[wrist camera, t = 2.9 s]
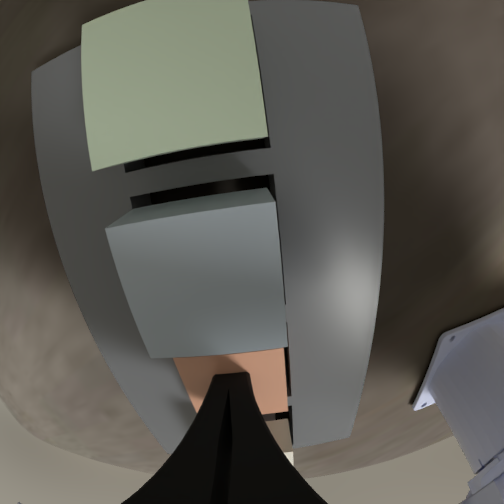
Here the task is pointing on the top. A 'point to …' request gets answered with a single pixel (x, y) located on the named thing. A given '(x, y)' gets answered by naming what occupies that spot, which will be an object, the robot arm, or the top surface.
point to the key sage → (169, 79)
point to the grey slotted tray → (287, 207)
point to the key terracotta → (256, 363)
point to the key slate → (203, 274)
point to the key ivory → (280, 434)
